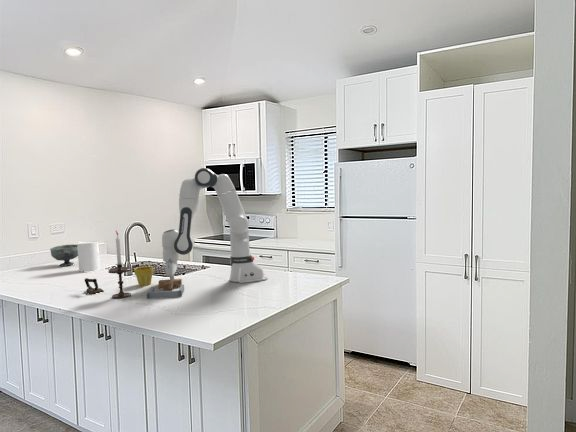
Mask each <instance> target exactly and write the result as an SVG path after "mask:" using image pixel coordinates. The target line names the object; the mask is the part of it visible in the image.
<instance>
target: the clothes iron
mask: <svg viewBox="0 0 576 432" xmlns="http://www.w3.org/2000/svg"><path fill="white" fill-rule="evenodd" d="M97 280H98V279H97V278H87V277H86V278H84V283H85V285H86V290H85V293H86V292H87V293H89V294H88V295H90V294H93V295H97V294H96V293H98V294H101V293H100V292H102V293H104V292H105V290H103V289H102V288H99V285H98V282H97ZM90 283H93V285H94V287H95V288H94V287H92V286H91V285H90ZM87 293H86V294H87Z"/></svg>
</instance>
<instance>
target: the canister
mask: <svg viewBox="0 0 576 432" xmlns="http://www.w3.org/2000/svg"><path fill="white" fill-rule="evenodd" d="M76 245H77V248H78V256H77V260H78V272H79V271H93V272H95V271H94V270H98V271H100V270H101V263H100V262H101V260H100V258H101V257H100V249H99V247H100V245H99V241H98V240H90V241H89V240H88V241H80V242H77V243H76ZM99 269H100V270H99Z"/></svg>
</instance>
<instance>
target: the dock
mask: <svg viewBox="0 0 576 432" xmlns="http://www.w3.org/2000/svg"><path fill="white" fill-rule="evenodd" d="M178 288H179V289H178V290H177V289H176V290H172V291H164V290H163V291H156V289H155V286H151V287H150V288H149V290H148V291H147V292H146V300H152V299H165V298H180V297H183V295H184V292H185V284H182V285H181V286H180V287H178Z"/></svg>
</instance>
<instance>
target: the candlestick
mask: <svg viewBox="0 0 576 432" xmlns="http://www.w3.org/2000/svg"><path fill="white" fill-rule="evenodd" d="M115 232H116V233H115V234H116V238H115V246H116V247H115V248H116V260H117V263H115V265H116V266H117V267H113V268H109V269H108V273H109V274H117V275H118V281H117V284H118V285H119V286H118V288H119V292H118V293H115V294H112V295H111V298H112V299H113V300H115V299H117V300H119V299H127V298H129V297H131V296H132V295H131V294H132V293H131V292H124V291H123V290H124V289H123V288H124V281H123V276H122V274H124V273H127V272H130V271H132V267H129V266H123V263H122V254H121V252H122V251H121V238H120V237H119V233H118V231H117V230H115Z"/></svg>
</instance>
